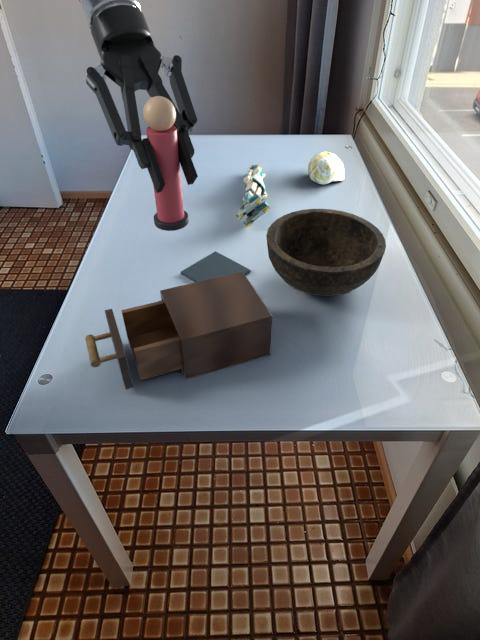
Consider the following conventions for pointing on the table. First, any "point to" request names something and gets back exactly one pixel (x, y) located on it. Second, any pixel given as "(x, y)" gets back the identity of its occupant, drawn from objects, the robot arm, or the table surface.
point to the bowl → (324, 250)
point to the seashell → (325, 168)
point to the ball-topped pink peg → (166, 163)
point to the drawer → (141, 342)
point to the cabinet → (219, 323)
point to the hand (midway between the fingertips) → (177, 184)
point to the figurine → (253, 196)
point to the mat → (213, 268)
